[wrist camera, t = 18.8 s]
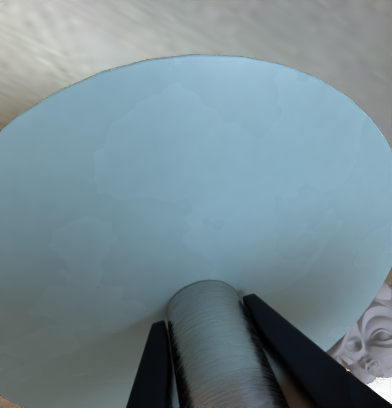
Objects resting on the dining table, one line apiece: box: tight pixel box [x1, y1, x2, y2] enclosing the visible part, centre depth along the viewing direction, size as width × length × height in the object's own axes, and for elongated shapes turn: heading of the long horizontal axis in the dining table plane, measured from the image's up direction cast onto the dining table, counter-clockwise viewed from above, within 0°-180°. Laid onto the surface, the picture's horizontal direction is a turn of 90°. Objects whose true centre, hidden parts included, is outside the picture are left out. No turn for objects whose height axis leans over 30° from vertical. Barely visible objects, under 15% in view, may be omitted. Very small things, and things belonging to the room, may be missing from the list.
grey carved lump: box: [326, 282, 392, 384], centre depth 18 cm, size 6×7×7 cm
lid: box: [0, 54, 392, 408], centre depth 8 cm, size 15×15×6 cm
